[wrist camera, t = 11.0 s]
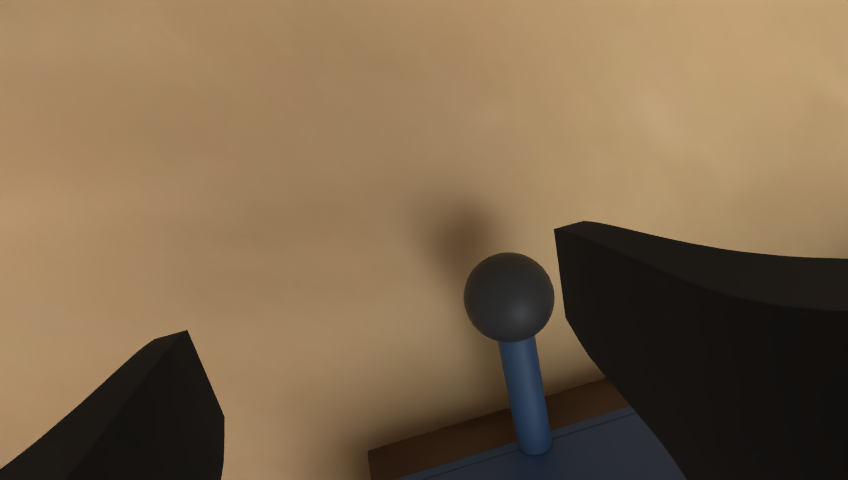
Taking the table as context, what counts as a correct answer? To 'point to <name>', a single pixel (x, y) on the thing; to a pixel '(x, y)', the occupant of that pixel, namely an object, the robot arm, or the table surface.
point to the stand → (488, 432)
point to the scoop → (536, 445)
